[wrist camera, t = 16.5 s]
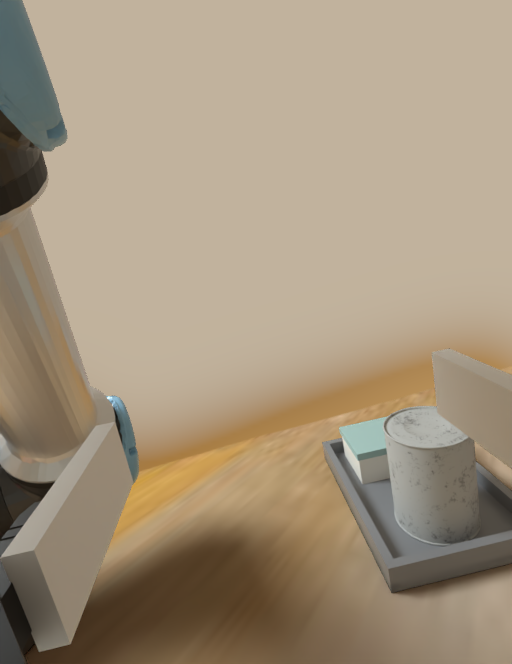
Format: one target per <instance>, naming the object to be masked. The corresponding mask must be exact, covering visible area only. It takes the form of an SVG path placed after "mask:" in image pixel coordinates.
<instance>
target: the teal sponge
mask: <svg viewBox="0 0 512 664" xmlns="http://www.w3.org/2000/svg"><path fill="white" fill-rule="evenodd" d="M386 418H387V417H384V418H379V419H375V420H370V421H366V422H361V423H357V424H352V425H348V426H344V427H339V430H340V434H341V435H342V439H343V446H344V452H345V456H346V458H347V459H348V461H349V463H350V464H351V466H352V468H353V469H354V471H355V473H356V474H357V476H358V478H359V479H360V481H361V483H362V484H367V483H371V482H375V481H379V480H384V479H388V478H390V472H389V464H388V457H387V450H386V442H385V435H384V430H383V422H384V421H385V419H386Z"/></svg>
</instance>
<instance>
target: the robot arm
mask: <svg viewBox="0 0 512 664" xmlns="http://www.w3.org/2000/svg"><path fill="white" fill-rule="evenodd" d="M66 139H67V130H66V129H65V125H64V122H63V118H62V116H61V113H60V109H59V104H58V101H57V97H56V94H55V92H54V88H53V86H52V83H51V80H50V77H49V74H48V71H47V68H46V65H45V62H44V60H43V57H42V54H41V51H40V48H39V45H38V43H37V40H36V37H35V34H34V32H33V29H32V26H31V23H30V20H29V18H28V15H27V12H26V10H25V7H24V4H23V1H22V0H0V664H28V663H27V661H26V658H25V656H24V654H25V653H26V652H27V651H28V650H29V649H30V648H31V647H32V646H33V645H34V643H35V644H36V646H37V648H38V651H39V652H41V651H45V650H49V649H54V648H58V647H62V646H66V645H70V644H71V642H72V640H73V637H74V634H75V632H76V629H77V627H78V624H79V621H80V619H81V616H82V614H83V611H84V609H85V606H86V603H87V601H88V598H89V596H90V593H91V590H92V588H93V585H94V583H95V580H96V578H97V575H98V572H99V570H100V567H101V565H102V562H103V559H104V557H105V554H106V552H107V549H108V547H109V544H110V541H111V539H112V536H113V534H114V531H115V528H116V526H117V523H118V521H119V518H120V516H121V513H122V510H123V508H124V505H125V503H126V500H127V497H128V495H129V492H130V490H131V487H132V485H133V484H134V483H135V481H136V479H137V477H138V473H139V459H138V453H137V449H136V447H135V446H136V443H135V437H134V432H133V428H132V424H131V421H130V418H129V415H128V412H127V410H126V407H125V405H124V403H123V401H122V400H121V399H120V398H119V397H117V396H105V395H104V394H103V393H102V392H101V391H99V390H97V389H96V388H93V387H91V386H90V384H89V381H88V378H87V375H86V372H85V369H84V366H83V363H82V360H81V357H80V354H79V351H78V348H77V345H76V342H75V339H74V336H73V333H72V331H71V327H70V324H69V322H68V319H67V316H66V313H65V310H64V307H63V304H62V301H61V298H60V295H59V292H58V289H57V286H56V284H55V280H54V277H53V274H52V271H51V268H50V265H49V262H48V259H47V256H46V253H45V250H44V247H43V244H42V241H41V238H40V235H39V232H38V229H37V226H36V223H35V220H34V217H33V215H32V211H31V208H30V207H31V206H32V205H33V204H34V203H35V202H36V201H37V199H39V197H40V196H41V195H42V194H43V192H44V190H45V189H46V187H47V183H48V172H47V167H46V165H45V161H44V158H43V154H42V151H52V150H54V148H55V147H57V146H61V145H62V144H64V143H65V142H66ZM432 361H433V371H434V382H435V392H436V402H437V413H438V414H439V415H441V416H442V417H443V418H445V419H446V420H447V421H449V422H450V423H451V424H452V425H454V426H455V427H456V428H458V429H459V430H460V431H462V432H463V433H464V434H466V435H467V436H468V437H470V438H471V439H472V440H474V441H475V442H476V443H478V444H479V445H480V446H482V447H483V448H484V449H486V450H487V451H488V452H490V453H491V454H492V455H494V456H495V457H496V458H498V459H499V460H500V461H502V462H503V463H504V464H506V465H507V466H508V467H510V468H511V469H512V375H510V374H508V373H506V372H503V371H501V370H499V369H496V368H494V367H492V366H489V365H487V364H485V363H482V362H480V361H478V360H475V359H473V358H471V357H468V356H466V355H463V354H461V353H459V352H456V351H454V350H452V349H445V350H440V351H436V352H432Z"/></svg>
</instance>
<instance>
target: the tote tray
mask: <svg viewBox="0 0 512 664" xmlns="http://www.w3.org/2000/svg"><path fill="white" fill-rule="evenodd" d="M322 444H323V449H324V455H325V459H326V461H327V463H328V465H329V467H330V469H331V471H332V473H333V475H334V477H335V479H336V481H337V483H338V485H339V487H340V489H341V491H342V493H343V496H344V498H345V500H346V502H347V504H348V506H349V508H350V510H351V512H352V514H353V516H354V518H355V520H356V522H357V524H358V526H359V528H360V530H361V532H362V534H363V536H364V538H365V540H366V542H367V544H368V546H369V548H370V550H371V552H372V554H373V556H374V558H375V560H376V562H377V564H378V566H379V568H380V570H381V572H382V574H383V576H384V578H385V580H386V582H387V584H388V586H389V589H390V591H391V593H393V592H397V591H401V590H405V589H409V588H413V587H417V586H421V585H425V584H430V583H434V582H438V581H442V580H446V579H450V578H454V577H458V576H462V575H466V574H470V573H474V572H478V571H483V570H487V569H491V568H495V567H499V566H503V565H507V564H511V563H512V491H511V490H510V489H509V488H508V487H506V486H505V485H504V484H503V483H502V482H500V481H499V480H498V479H497V478H496V477H494V476H493V475H492V474H491V473H490V472H488V471H487V470H486V469H485V468H484V467H482V466H481V465H480V464H479V463H477V462H476V473H477V486H478V500H479V513H480V519H481V528H480V531H479V532H478V534H477V536H475V537H474V538H473V539H472V540H469V541H465V542H461V543H457V544H452V545H448V546H435V545H430V544H427V543H423V542H421V541H419V540H417V539H414V538H413V537H411V536H410V535H408V534H407V533H405V532H404V531H403V530H402V528H401V527H400V526H399V525H398V523H397V521H396V519H395V515H394V502H393V494H392V487H391V479H390V478H388V479H384V480H379V481H375V482H371V483H367V484H362V483H361V481H360V479H359V478H358V476H357V474H356V473H355V471H354V469H353V468H352V466H351V464H350V463H349V461H348V459H347V458H346V456H345V452H344V446H343V439H342V438H339V439H335V440H331V441H326V442H322Z"/></svg>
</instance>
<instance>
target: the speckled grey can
mask: <svg viewBox="0 0 512 664" xmlns="http://www.w3.org/2000/svg"><path fill="white" fill-rule="evenodd" d="M383 430H384V435H385V442H386V450H387V457H388V464H389V472H390V479H391V487H392V494H393V502H394V515H395V519H396V521H397V523H398V525H399V526H400V527H401V528H402V530H403V531H404V532H405V533H407V534H408V535H410V536H411V537H413V538H414V539H417V540H419V541H421V542H423V543H427V544H430V545H435V546H448V545H452V544H457V543H461V542H465V541H469V540H472V539H473V538H474V537H475V536H477V534H478V532H479V531H480V528H481V519H480V513H479V500H478V486H477V473H476V460H475V447H474V440H472V439H471V438H470V437H468V436H467V435H466V434H464V433H463V432H462V431H460V430H459V429H458V428H456V427H455V426H454V425H452V424H451V423H450V422H449V421H447V420H446V419H445V418H443V417H442V416H441V415H439V414H438V413H437V407H435V406H417V407H410V408H405V409H402V410H399V411H396V412H394V413H392V414H390V415H389V416H388V417H387V418H386V419H385V421H384V422H383Z"/></svg>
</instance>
